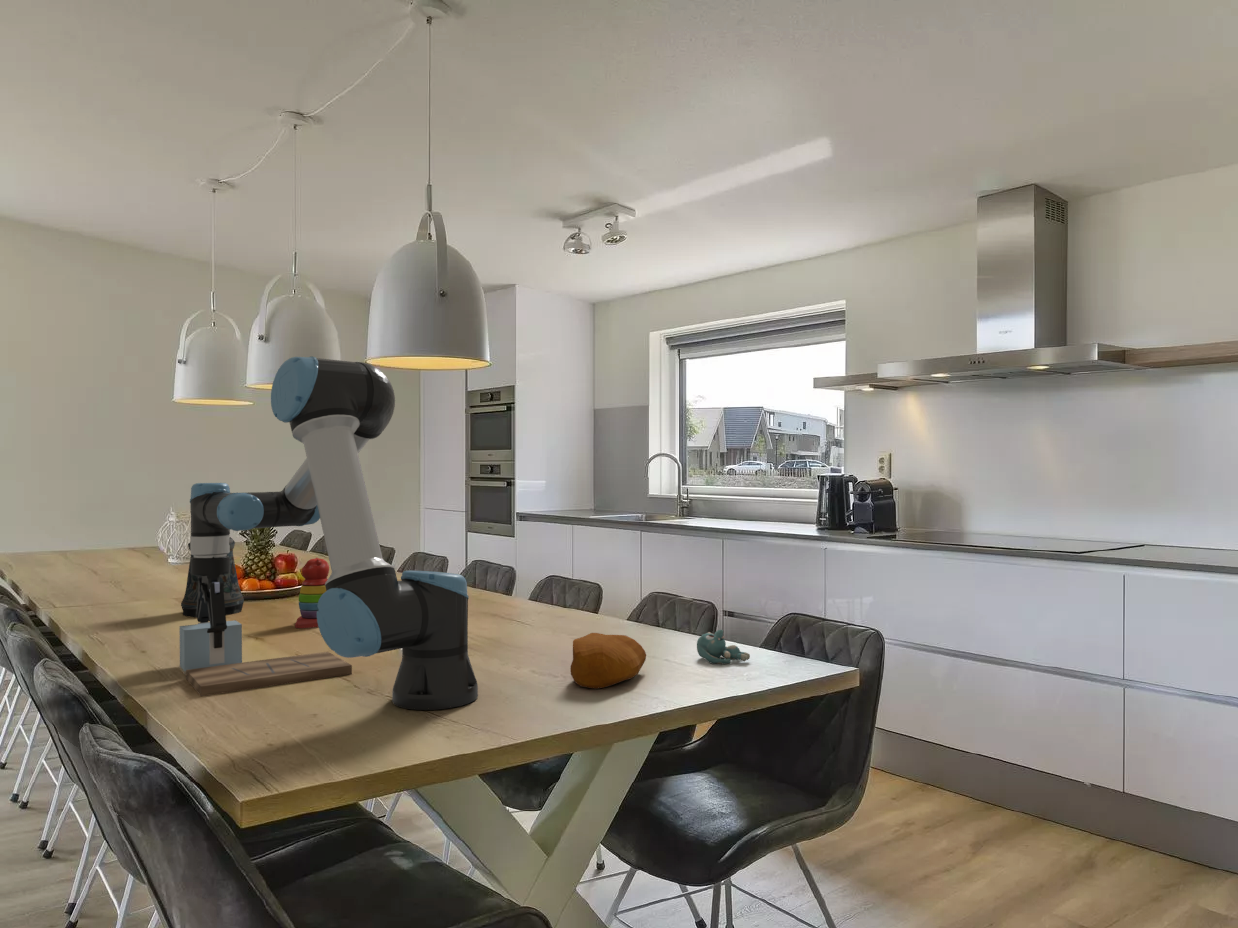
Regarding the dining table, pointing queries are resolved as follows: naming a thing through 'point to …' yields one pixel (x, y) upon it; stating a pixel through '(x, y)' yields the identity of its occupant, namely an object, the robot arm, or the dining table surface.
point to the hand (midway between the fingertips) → (210, 657)
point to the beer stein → (231, 590)
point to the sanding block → (197, 645)
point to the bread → (605, 659)
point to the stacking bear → (311, 591)
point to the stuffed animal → (718, 649)
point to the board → (266, 673)
